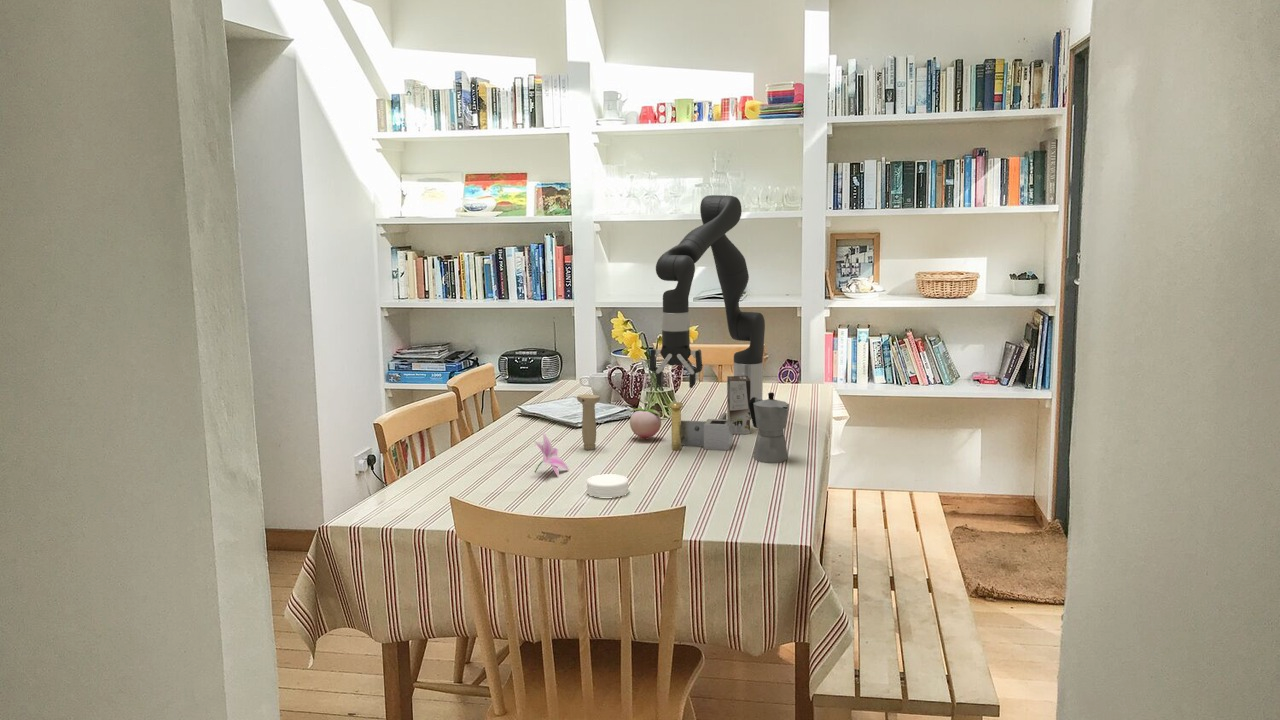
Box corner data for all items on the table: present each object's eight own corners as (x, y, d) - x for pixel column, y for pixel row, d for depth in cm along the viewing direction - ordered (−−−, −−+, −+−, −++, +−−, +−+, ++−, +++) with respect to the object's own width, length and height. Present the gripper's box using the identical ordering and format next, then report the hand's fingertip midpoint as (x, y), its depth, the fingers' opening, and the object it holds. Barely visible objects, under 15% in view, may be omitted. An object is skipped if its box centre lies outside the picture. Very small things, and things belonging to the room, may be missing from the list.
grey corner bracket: (683, 434, 287) (682, 411, 286) (736, 436, 283) (736, 413, 282) (672, 447, 272) (672, 423, 270) (728, 450, 268) (729, 425, 267)
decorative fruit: (626, 442, 278) (625, 408, 276) (633, 435, 286) (632, 402, 284) (658, 444, 276) (657, 409, 274) (664, 437, 284) (663, 403, 282)
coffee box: (750, 434, 286) (751, 380, 283) (728, 434, 286) (729, 380, 283) (748, 427, 295) (748, 375, 292) (726, 427, 295) (726, 375, 292)
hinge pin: (671, 447, 272) (671, 401, 270) (684, 447, 271) (683, 402, 269) (668, 450, 268) (668, 404, 266) (681, 451, 268) (681, 405, 266)
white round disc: (605, 485, 237) (605, 471, 237) (637, 492, 231) (637, 477, 231) (578, 494, 230) (577, 480, 229) (609, 502, 223) (609, 487, 223)
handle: (593, 452, 268) (592, 398, 265) (575, 449, 271) (573, 396, 269) (603, 448, 272) (602, 395, 269) (585, 445, 275) (584, 393, 273)
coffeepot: (800, 461, 256) (801, 394, 253) (773, 466, 251) (774, 398, 248) (762, 449, 268) (762, 385, 266) (735, 454, 263) (736, 389, 260)
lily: (536, 486, 240) (555, 454, 238) (509, 460, 246) (527, 429, 245) (567, 490, 249) (585, 458, 248) (540, 465, 256) (557, 434, 254)
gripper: (703, 327, 266) (703, 385, 269) (653, 326, 270) (653, 383, 272) (699, 330, 259) (699, 390, 262) (647, 329, 262) (647, 388, 265)
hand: (676, 386), depth 267 cm, fingers open, 8 cm apart
